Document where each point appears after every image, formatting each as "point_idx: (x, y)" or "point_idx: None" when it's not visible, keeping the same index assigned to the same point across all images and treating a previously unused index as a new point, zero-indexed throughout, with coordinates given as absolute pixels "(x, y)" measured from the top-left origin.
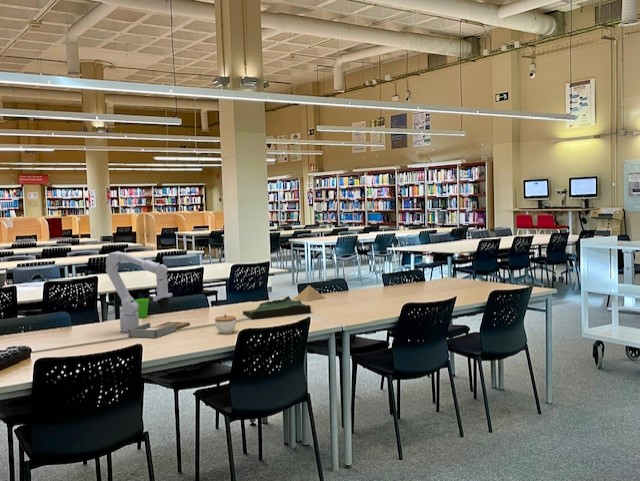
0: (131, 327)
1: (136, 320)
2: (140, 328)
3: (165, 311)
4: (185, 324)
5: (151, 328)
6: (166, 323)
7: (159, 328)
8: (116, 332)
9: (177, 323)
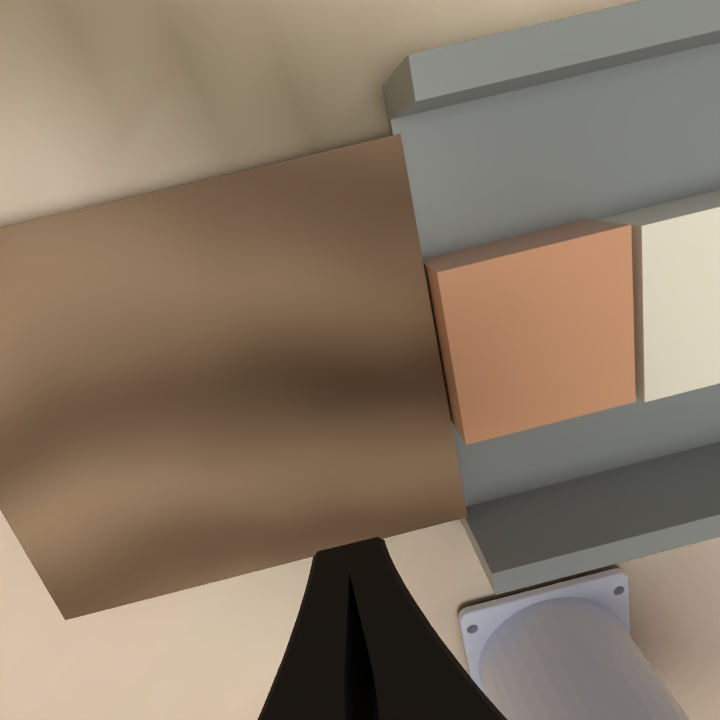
0: (635, 646)
1: (630, 713)
2: (693, 492)
3: (343, 550)
4: (7, 226)
5: (683, 335)
6: (165, 553)
7: (628, 229)
8: None
9: (65, 403)
